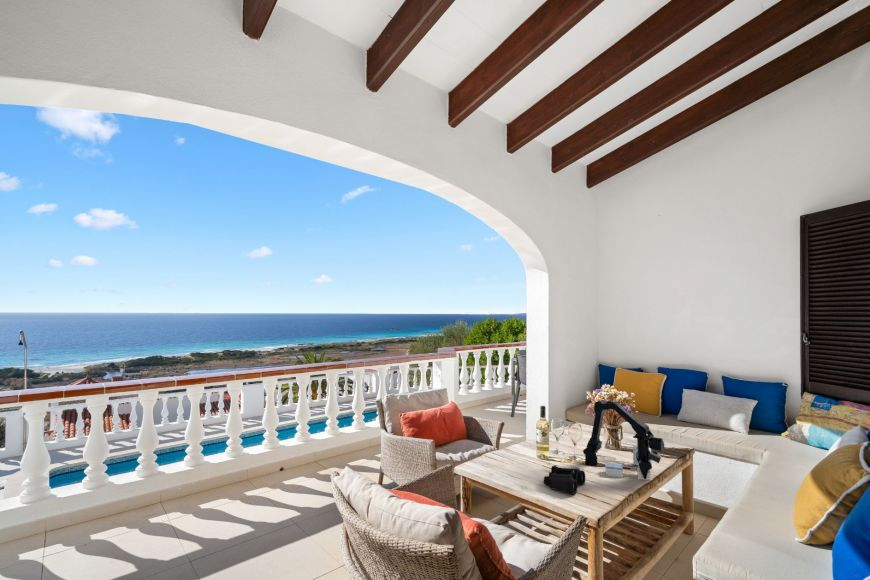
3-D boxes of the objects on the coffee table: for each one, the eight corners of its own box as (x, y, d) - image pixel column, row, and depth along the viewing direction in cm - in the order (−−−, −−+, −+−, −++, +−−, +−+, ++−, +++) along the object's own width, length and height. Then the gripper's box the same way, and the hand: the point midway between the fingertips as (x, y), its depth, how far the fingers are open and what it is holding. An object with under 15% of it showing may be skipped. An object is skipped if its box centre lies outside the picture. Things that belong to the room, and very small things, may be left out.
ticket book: (605, 475, 231) (605, 466, 232) (605, 471, 237) (605, 462, 237) (624, 477, 228) (624, 468, 228) (624, 473, 234) (623, 464, 234)
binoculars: (573, 497, 204) (572, 477, 205) (538, 487, 216) (538, 468, 217) (588, 483, 221) (588, 464, 222) (555, 475, 233) (555, 457, 234)
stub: (638, 479, 226) (638, 469, 226) (637, 475, 231) (637, 466, 231) (650, 480, 224) (650, 470, 224) (649, 477, 228) (649, 467, 229)
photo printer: (653, 467, 242) (652, 446, 243) (650, 469, 239) (649, 448, 240) (635, 463, 250) (634, 442, 250) (632, 464, 247) (631, 444, 247)
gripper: (662, 454, 216) (663, 484, 216) (656, 443, 234) (657, 471, 233) (638, 451, 220) (639, 481, 220) (635, 441, 238) (636, 468, 237)
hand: (644, 475), depth 227 cm, fingers open, 9 cm apart
